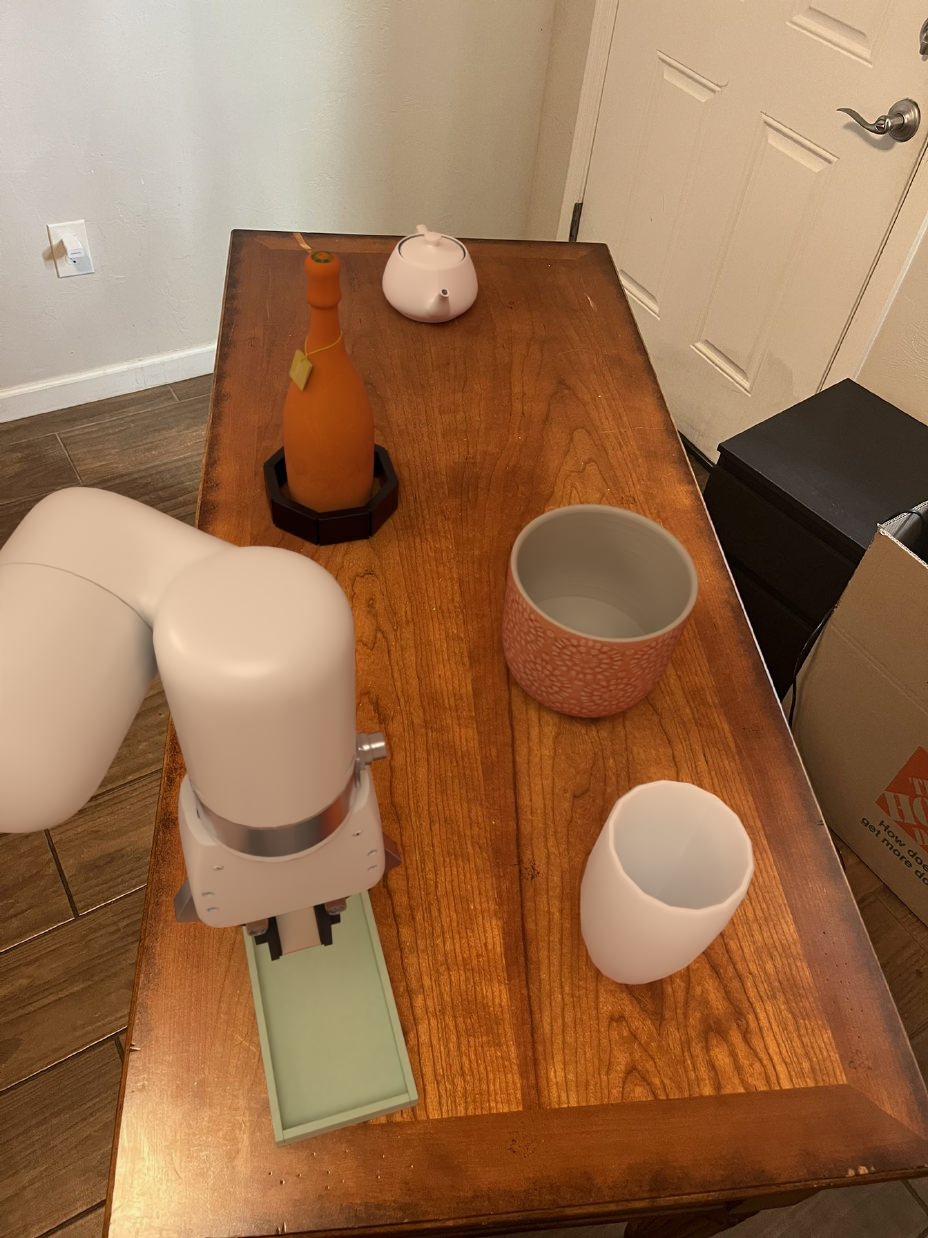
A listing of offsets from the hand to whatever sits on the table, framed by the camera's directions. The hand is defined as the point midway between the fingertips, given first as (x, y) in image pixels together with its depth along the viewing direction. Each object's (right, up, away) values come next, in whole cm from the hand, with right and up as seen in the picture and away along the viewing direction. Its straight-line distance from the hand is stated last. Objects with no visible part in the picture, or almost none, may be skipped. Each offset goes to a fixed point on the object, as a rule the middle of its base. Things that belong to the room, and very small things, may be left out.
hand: (297, 928), depth 58 cm
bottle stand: (-5, +33, +51) cm, 61 cm away
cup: (+22, -9, +19) cm, 31 cm away
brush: (-1, +7, +4) cm, 8 cm away
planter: (+22, +14, +38) cm, 46 cm away
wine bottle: (-5, +33, +52) cm, 62 cm away
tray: (-1, -9, +16) cm, 19 cm away
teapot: (+5, +64, +79) cm, 102 cm away
